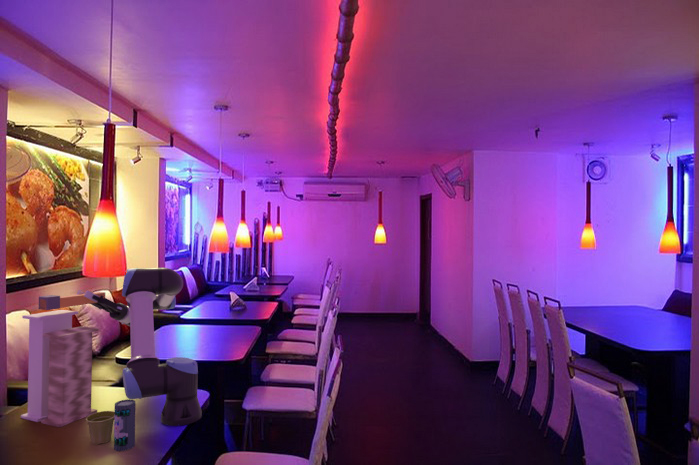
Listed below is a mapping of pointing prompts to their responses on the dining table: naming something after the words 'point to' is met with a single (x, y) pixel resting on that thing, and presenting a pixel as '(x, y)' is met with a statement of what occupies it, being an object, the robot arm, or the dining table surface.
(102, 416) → the plant pot
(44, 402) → the grey stand
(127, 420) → the can
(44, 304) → the orange bar
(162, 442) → the dining table surface
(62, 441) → the dining table surface
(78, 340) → the birch stand
